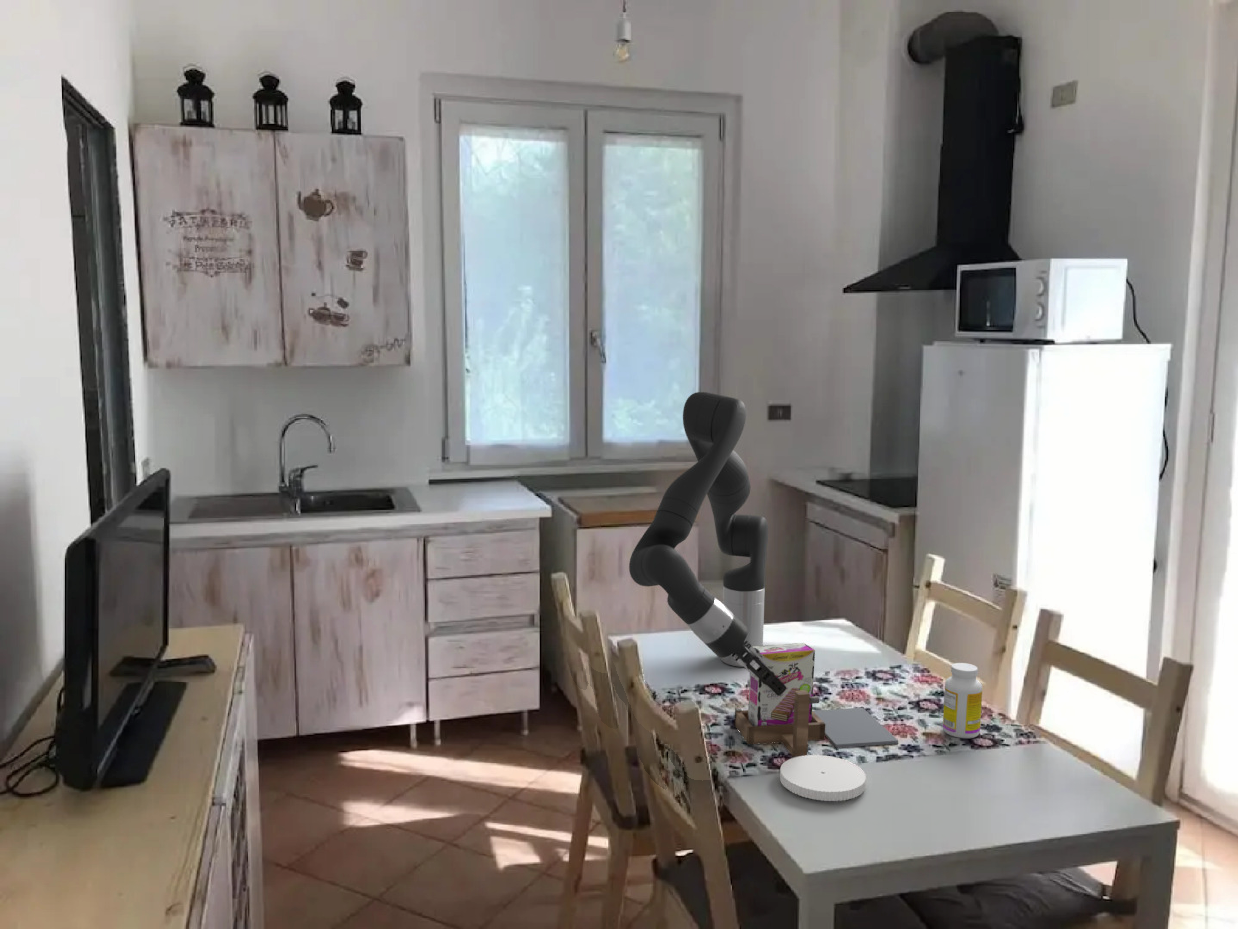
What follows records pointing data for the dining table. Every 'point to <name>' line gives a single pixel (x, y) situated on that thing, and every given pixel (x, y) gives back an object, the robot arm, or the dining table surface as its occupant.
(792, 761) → the plastic lid
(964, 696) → the supplement bottle
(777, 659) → the candy bar box
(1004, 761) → the dining table surface
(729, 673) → the dining table surface
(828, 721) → the slate mat
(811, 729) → the walnut holder
